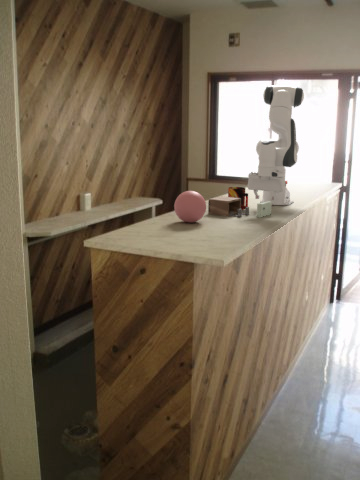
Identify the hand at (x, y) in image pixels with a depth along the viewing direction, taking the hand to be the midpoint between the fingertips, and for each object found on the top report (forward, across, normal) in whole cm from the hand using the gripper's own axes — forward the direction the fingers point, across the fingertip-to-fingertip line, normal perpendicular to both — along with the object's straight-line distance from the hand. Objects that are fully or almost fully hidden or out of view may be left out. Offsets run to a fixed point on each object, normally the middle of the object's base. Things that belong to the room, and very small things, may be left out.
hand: (265, 199), depth 256 cm
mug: (+8, -21, +12) cm, 26 cm away
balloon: (+9, -21, -37) cm, 44 cm away
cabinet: (+9, -18, -6) cm, 21 cm away
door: (+9, -1, 0) cm, 9 cm away
